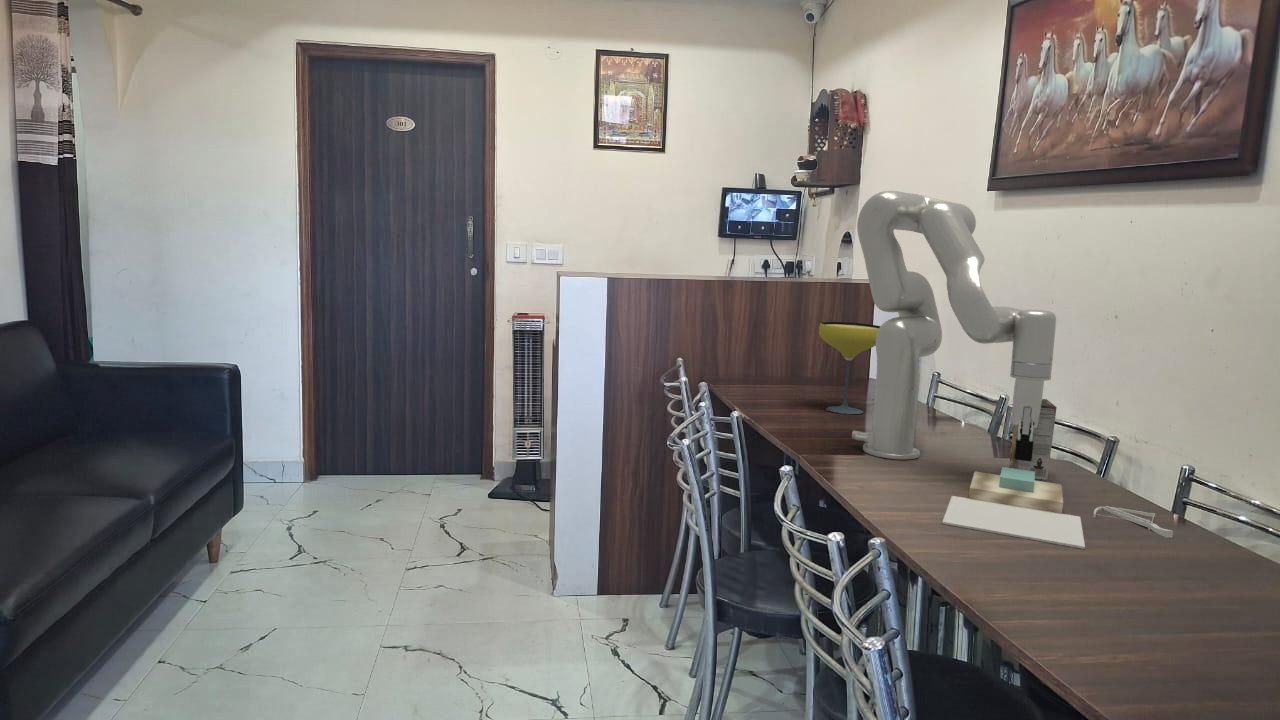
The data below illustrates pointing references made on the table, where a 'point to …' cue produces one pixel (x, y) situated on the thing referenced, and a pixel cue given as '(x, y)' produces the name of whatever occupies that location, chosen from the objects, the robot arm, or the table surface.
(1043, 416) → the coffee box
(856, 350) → the cocktail glass
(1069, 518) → the white mat
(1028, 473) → the teal tile
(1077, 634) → the table surface
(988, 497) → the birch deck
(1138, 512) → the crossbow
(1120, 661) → the table surface
